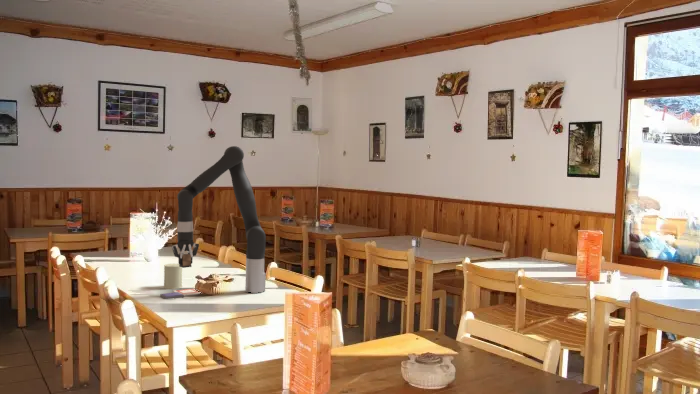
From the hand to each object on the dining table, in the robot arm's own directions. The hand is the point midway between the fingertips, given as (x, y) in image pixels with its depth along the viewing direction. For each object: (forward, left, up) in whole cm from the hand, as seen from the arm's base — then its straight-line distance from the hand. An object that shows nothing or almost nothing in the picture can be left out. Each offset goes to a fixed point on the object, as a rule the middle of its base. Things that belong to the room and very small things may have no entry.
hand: (185, 264), depth 302 cm
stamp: (0, 0, -1) cm, 1 cm away
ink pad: (+8, +3, -14) cm, 17 cm away
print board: (-2, -2, -14) cm, 15 cm away
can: (-1, -18, -15) cm, 23 cm away
